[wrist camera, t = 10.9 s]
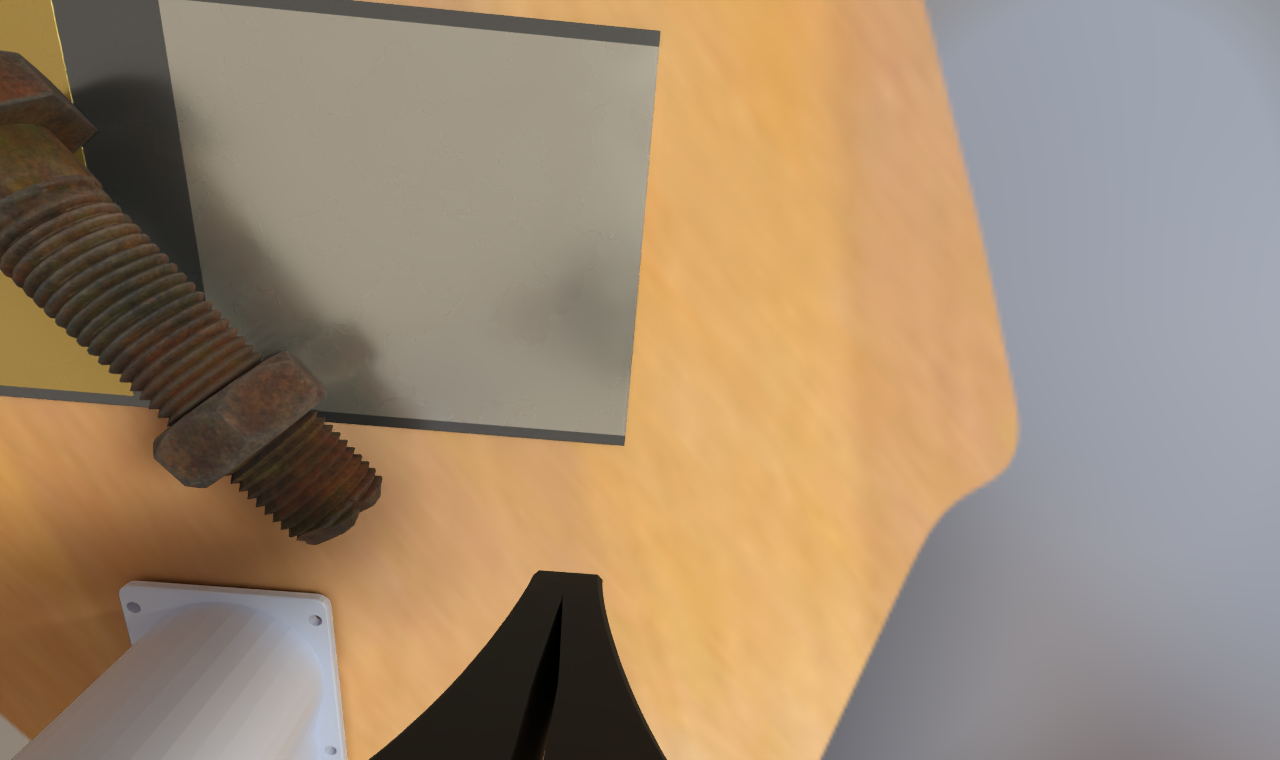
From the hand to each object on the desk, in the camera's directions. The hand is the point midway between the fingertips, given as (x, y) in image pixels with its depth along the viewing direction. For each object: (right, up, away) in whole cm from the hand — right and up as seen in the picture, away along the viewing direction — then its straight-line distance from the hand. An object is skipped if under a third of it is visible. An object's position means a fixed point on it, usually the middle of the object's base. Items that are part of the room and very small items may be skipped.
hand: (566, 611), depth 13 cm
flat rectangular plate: (-12, +10, +6) cm, 17 cm away
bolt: (-12, +7, +7) cm, 16 cm away
